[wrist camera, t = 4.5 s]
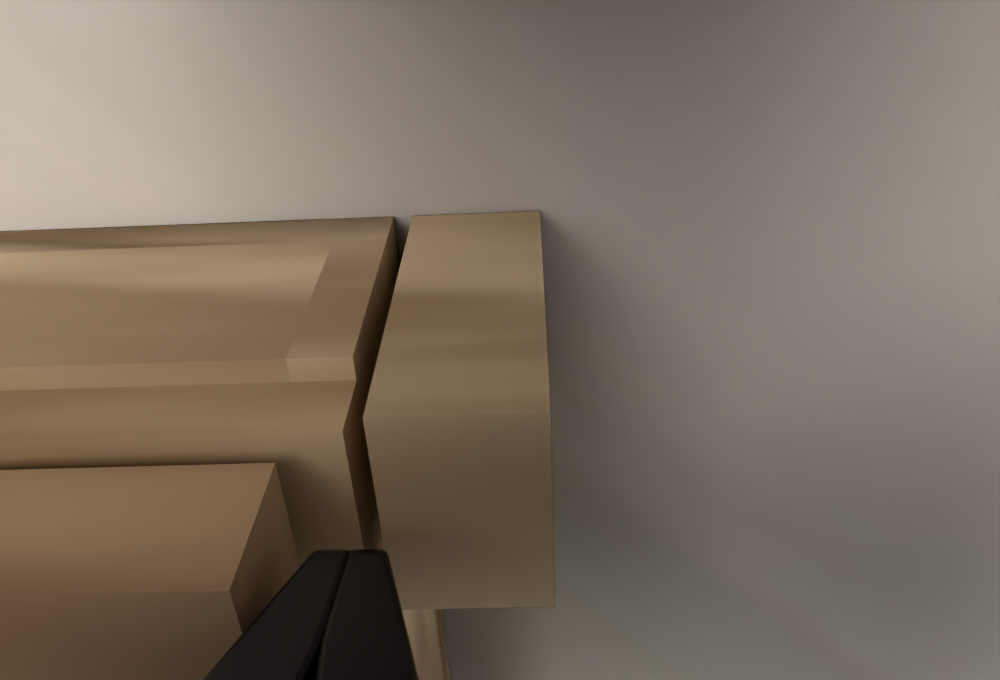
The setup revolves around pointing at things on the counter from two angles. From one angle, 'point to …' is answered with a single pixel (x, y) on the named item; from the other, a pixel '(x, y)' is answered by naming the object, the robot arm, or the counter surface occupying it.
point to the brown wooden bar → (136, 568)
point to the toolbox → (335, 367)
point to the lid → (214, 443)
